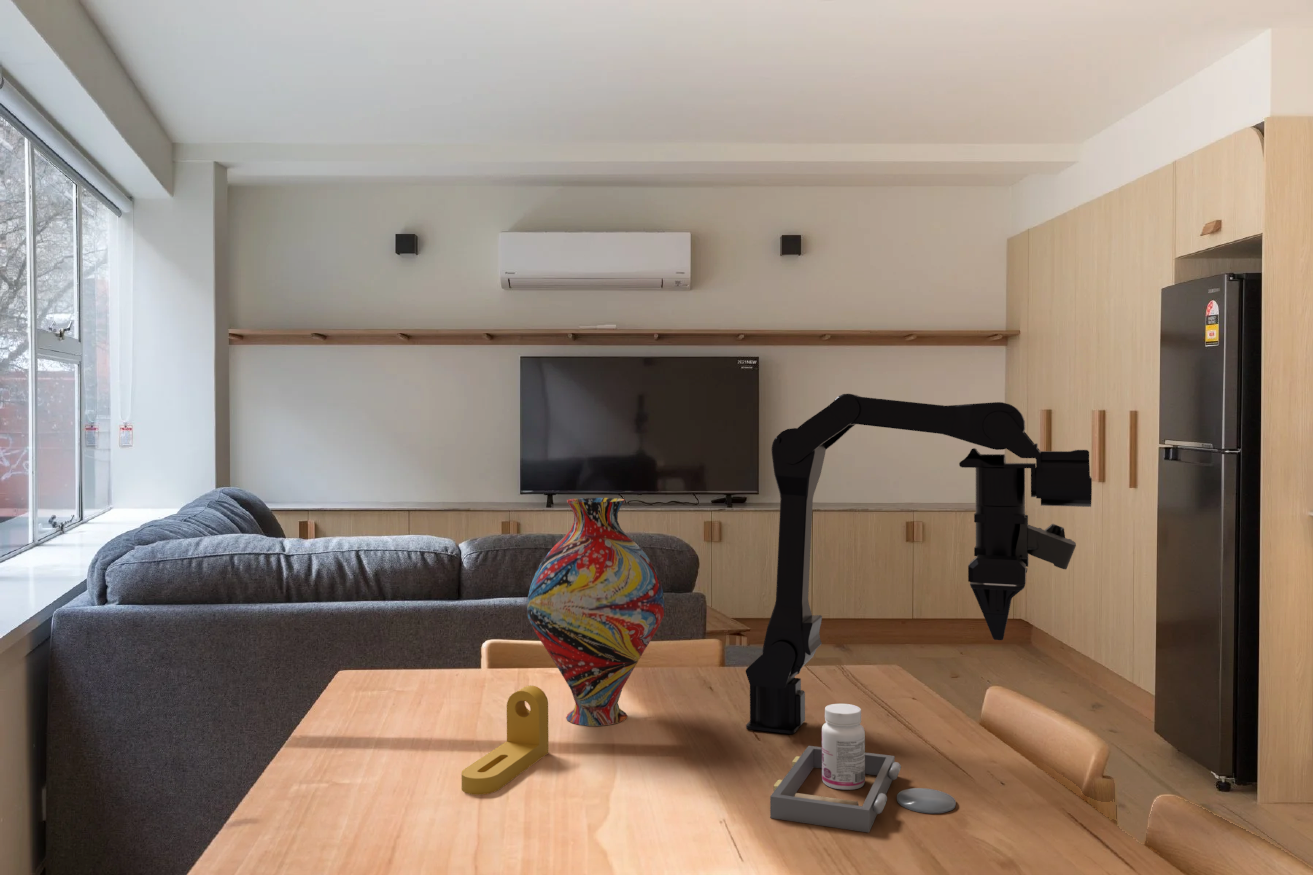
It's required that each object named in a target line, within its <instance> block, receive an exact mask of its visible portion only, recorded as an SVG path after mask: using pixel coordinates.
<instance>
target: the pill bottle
mask: <svg viewBox="0 0 1313 875" xmlns="http://www.w3.org/2000/svg"><path fill="white" fill-rule="evenodd" d="M824 721H825V723H823V725H822V727H821V747H822V768H821V780H822V782H823V784H825V785H826V786H827V787H829V788H831V789H835V790H845V791H849V790H850V791H853V790H857V789H860V788H862V787H863V786H864V785H865V782H866V774H865V753H866V752H865V751H866V747H865V746H866V737H865V735H866V734H865V733H866V732H865V728H864V726H863V725H862V724H861V723H862V708H860V707H859V706H857V705H854V704H851V703H850V704H849V703H832V704H828V705H826V706H825V707H824Z"/></svg>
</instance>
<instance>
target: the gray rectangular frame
mask: <svg viewBox="0 0 1313 875" xmlns="http://www.w3.org/2000/svg"><path fill="white" fill-rule="evenodd" d="M895 758H896V757H895V755H888V754H881V753H880V754H879V753H873V752H872V753H871V752H865V775H871V776H876V777H875V779H874V781H873V783H872V785H871V787H870V790H869V791H868V794H867V795H866V798H865V800H864V802H863V804H862V806H861V805H859V806H857V805H849V804H842V803H835V802H828V801H821V800H814V799H807V798H800V797H795V794H796V793H798V791H799V789H800V788H801V787H802V785H803V784H804V782H805V781H806V779H807V778H808V776H809V775H810V773H811V771H813V769H814V768H817V769H822V746H816V745H815V746H813V745H808V746H807V747H806V748H805V750H804V751H803V753H801V755H800V756H797V755H796V756H795V757H794V759H793V760H791V768H790V770H789V771H787V772H788V773H787V774H786V775H785V776H784V778H783V779H777V781H776V782H775V783H774V785H773V792H772V793H771V795H770V798H769V799H770V802H769V805H770V808H769V809H770V810H769V811H770V815H769V816H770V819H776V820H783V821H789V822H795V823H801V824H802V823H803V824H808V825H816V826H821V827H822V826H823V827H830V828H835V829H842V830H848V831H849V830H850V831H856V832H863V833H870V831H871V830H872V826H873V824H874V822H875V821H876V817H877V815H880V814H882V813H883V810H884V808H885V806H886V803H887V801H888V797H887V793H888V791H889V789H890V786H891V784H892V782H893V781H895V780H897V779H898V776H899V773H900V771H901V768H902V766H901V764H900V762H896V761H895Z"/></svg>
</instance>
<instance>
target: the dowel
mask: <svg viewBox="0 0 1313 875" xmlns="http://www.w3.org/2000/svg"><path fill="white" fill-rule="evenodd" d="M794 797H800V798H807V799H814V800H821V801H828V802H835V803H842V804H849V805H857V806H860V805H859V804H860V803H859V801H858V800H851V799H843V798H835V797H827V796H823V795H821V796H820V795H815V794H807V793H799V792H796V794H795V795H794Z"/></svg>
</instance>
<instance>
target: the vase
mask: <svg viewBox="0 0 1313 875" xmlns="http://www.w3.org/2000/svg"><path fill="white" fill-rule="evenodd" d="M566 502H567V504H568V506H569V507H570V509H571V511H572V512H573V523H572V525H571V528H570V529H569V531H567V533H566V534H565V535H564V536H563V537H562V538H561V539H560V540H559V541H558V542H557V543H556V544H554V546H553V547H552V548H551V549H550V550H549V551H548V553H547V554H546V555H545V557H544V558H543V559H542V561H541V562H540V564H539V566H538V567H537V569H536V571H535V573H534V575H533V577H532V581H531V584H530V587H529V591H528V595H527V603H526V604H527V618H528V621H529V623H530V625H531V626H532V628H533V631H534V633H535V634H536V636H537V638H538V639H539V641H540V642H541V643H542V645H543V647H544V648H545V650H546V652H547V653H548V654H549V656H550V657H551V659H552V661H553V662H554V664H555V666H556V667H557V669H558V670H559V672H560V675H561V676H562V678H563V679H564V681H565V682H566V684H567V685H568V688H569V689H570V691H571V694H572V696H573V699H574V702H575V703H574V704H575V705H574V708H573V710H571V711H570V712H569V713H568V714H567V715H566V717H565V718H566V720H567V721H568V722H570V723H571V724H576V725H581V726H590V727H591V726H592V727H599V726H600V727H602V726H609V725H615V724H618V723H621V722H622V723H623V722H624V721H625V720H626V719H627V718H628V714H627V713H626V712H625V711H624V710H622V709H621V708H620V706H619V702H620V701H619V700H620V698H621V695H622V691H623V690H624V687H625V685H626V683H627V681H628V679H630V676H631V674H632V673H633V671H634V669H635V668H636V666H637V664H638V662H639V661H640V659H641V658H642V655H643V654H644V653H645V651H646V649H647V647H648V646H649V644H650V643H651V640H652V639H653V637H654V636H655V634H656V633H657V631H658V629H659V627H660V626H661V623H662V620H663V619H664V616H665V607H666V606H665V595H664V591H663V585H662V582H661V579H660V577H659V574H658V573H657V571H656V570H657V569H656V568H655V566H654V565H653V563H652V562H651V560H650V558H649V557H648V556H647V554H646V552H645V551H643V549H642V548H641V547H640V546H639V544H637V543H636V542H635V541H634V540H633V539H631V537H629V536H628V534H627V533H626V532H625V531H623V529H622V528H621V526H620V523H619V521H618V518H619V516H618V514H619V511H620V509H621V507H622V506H623V505H624V503H625V499H624V498H618V497H617V498H616V497H584V498H583V497H582V498H581V497H579V498H571V499H566Z"/></svg>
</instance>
